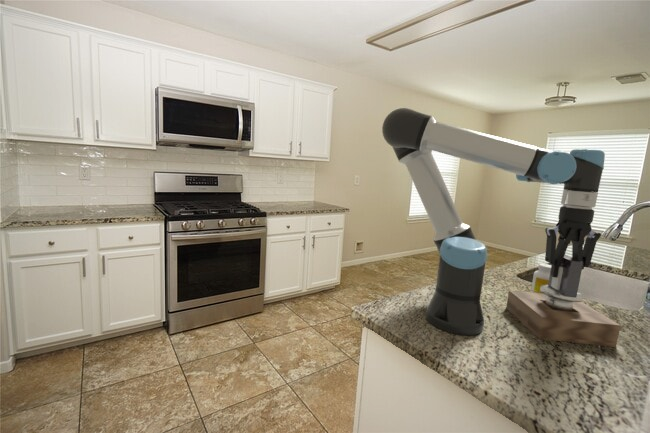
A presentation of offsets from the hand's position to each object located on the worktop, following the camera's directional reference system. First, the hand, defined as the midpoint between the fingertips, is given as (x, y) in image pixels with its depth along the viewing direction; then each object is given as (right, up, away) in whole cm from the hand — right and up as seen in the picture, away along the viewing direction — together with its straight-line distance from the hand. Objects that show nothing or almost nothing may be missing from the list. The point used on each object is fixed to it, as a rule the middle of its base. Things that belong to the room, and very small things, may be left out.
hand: (561, 288), depth 92 cm
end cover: (0, -7, +1) cm, 7 cm away
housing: (-1, -11, +2) cm, 11 cm away
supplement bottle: (+7, -9, +20) cm, 23 cm away
